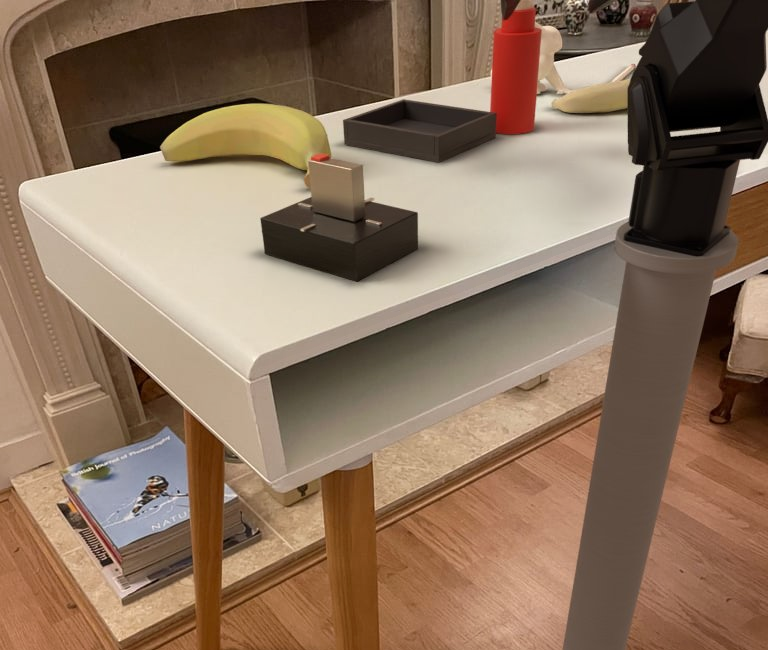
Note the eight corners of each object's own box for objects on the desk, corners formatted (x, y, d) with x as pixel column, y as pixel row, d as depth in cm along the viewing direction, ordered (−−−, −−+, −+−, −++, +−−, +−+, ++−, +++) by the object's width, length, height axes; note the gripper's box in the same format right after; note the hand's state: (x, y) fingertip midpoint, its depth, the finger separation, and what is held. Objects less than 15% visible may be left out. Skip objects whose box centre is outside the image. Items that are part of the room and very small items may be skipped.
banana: (252, 71, 88) (357, 129, 77) (266, 120, 92) (367, 181, 81) (146, 127, 85) (240, 196, 74) (166, 174, 89) (258, 246, 78)
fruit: (682, 103, 100) (687, 74, 98) (584, 121, 95) (588, 90, 93) (643, 93, 105) (647, 64, 103) (549, 109, 100) (551, 79, 98)
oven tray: (495, 137, 91) (496, 112, 89) (438, 162, 84) (439, 136, 83) (403, 122, 97) (403, 99, 96) (344, 144, 91) (342, 119, 89)
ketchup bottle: (543, 128, 93) (555, -14, 84) (509, 136, 91) (518, -9, 82) (513, 120, 96) (522, -18, 88) (480, 128, 94) (485, -13, 85)
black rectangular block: (421, 247, 66) (420, 208, 64) (353, 283, 61) (351, 242, 59) (330, 223, 71) (328, 187, 69) (261, 255, 66) (256, 217, 64)
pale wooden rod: (635, 69, 117) (636, 63, 116) (602, 98, 104) (603, 92, 103) (630, 68, 117) (630, 63, 117) (596, 97, 104) (597, 91, 104)
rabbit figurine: (576, 93, 106) (585, 8, 100) (543, 104, 102) (550, 16, 96) (504, 82, 113) (508, 1, 106) (470, 92, 108) (472, 9, 102)
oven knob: (365, 217, 63) (363, 161, 61) (354, 222, 63) (351, 165, 60) (323, 206, 66) (319, 152, 63) (312, 211, 65) (307, 156, 62)
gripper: (696, -221, 66) (617, -67, 82) (483, -215, 64) (442, -56, 79) (725, -99, 65) (640, 34, 81) (510, -87, 63) (464, 48, 78)
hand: (547, 12), depth 80 cm, fingers open, 9 cm apart
